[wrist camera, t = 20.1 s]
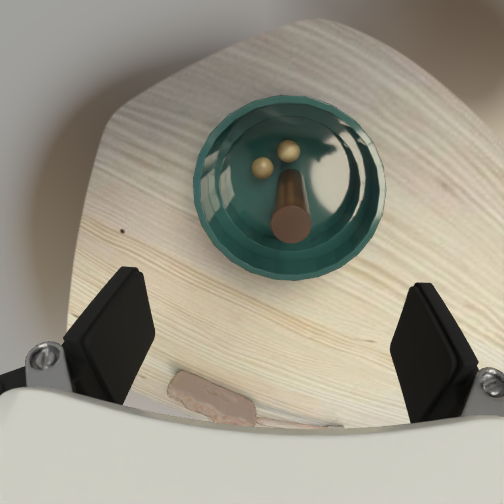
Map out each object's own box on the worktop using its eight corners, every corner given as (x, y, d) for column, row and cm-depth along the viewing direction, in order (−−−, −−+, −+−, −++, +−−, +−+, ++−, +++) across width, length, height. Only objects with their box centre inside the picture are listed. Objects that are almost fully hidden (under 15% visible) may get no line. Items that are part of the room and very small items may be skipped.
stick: (272, 180, 28) (261, 223, 18) (291, 163, 27) (292, 197, 17) (290, 199, 28) (289, 251, 19) (309, 182, 28) (320, 227, 18)
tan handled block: (356, 431, 41) (166, 402, 35) (341, 444, 43) (160, 418, 36) (344, 398, 48) (173, 362, 41) (331, 412, 50) (166, 380, 43)
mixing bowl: (179, 176, 29) (157, 191, 24) (293, 65, 23) (294, 55, 18) (284, 278, 33) (282, 309, 28) (398, 188, 27) (419, 206, 22)
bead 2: (292, 167, 27) (276, 152, 27) (307, 151, 26) (291, 137, 26) (285, 166, 25) (268, 150, 25) (301, 149, 24) (284, 133, 24)
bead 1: (264, 153, 27) (257, 151, 25) (280, 167, 27) (274, 165, 25) (251, 170, 28) (243, 169, 26) (267, 184, 28) (259, 183, 26)
